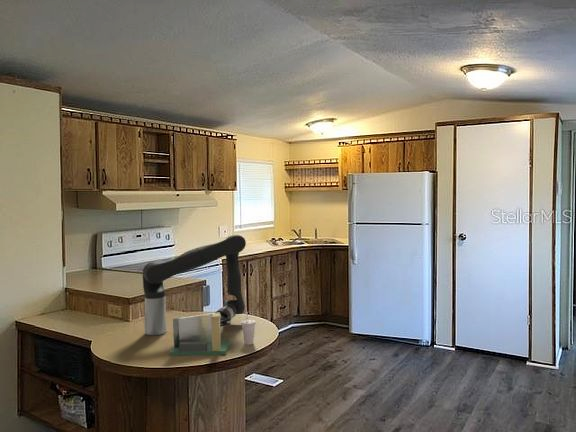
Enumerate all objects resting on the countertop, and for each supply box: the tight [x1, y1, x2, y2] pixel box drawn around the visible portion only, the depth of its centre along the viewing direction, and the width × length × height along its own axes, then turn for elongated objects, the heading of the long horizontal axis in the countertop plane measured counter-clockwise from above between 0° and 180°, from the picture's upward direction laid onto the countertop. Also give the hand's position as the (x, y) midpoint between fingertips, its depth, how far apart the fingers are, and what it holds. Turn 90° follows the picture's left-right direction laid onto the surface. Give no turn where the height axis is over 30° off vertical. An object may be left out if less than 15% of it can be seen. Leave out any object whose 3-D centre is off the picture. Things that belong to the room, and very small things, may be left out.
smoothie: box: [240, 311, 257, 346], centre depth 213 cm, size 6×6×14 cm
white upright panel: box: [172, 312, 222, 348], centre depth 208 cm, size 20×2×12 cm, turn 116°
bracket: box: [169, 314, 232, 356], centre depth 207 cm, size 23×14×16 cm, turn 88°
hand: (210, 327), depth 212 cm, fingers closed
